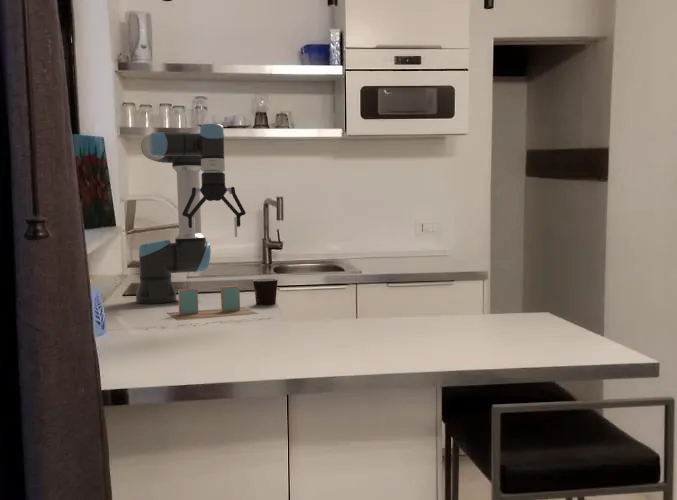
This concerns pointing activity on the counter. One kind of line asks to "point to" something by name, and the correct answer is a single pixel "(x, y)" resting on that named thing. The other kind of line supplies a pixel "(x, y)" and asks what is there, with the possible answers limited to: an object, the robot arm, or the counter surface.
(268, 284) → the coffee mug
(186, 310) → the tile
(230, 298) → the tile
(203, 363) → the counter surface
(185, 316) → the board
